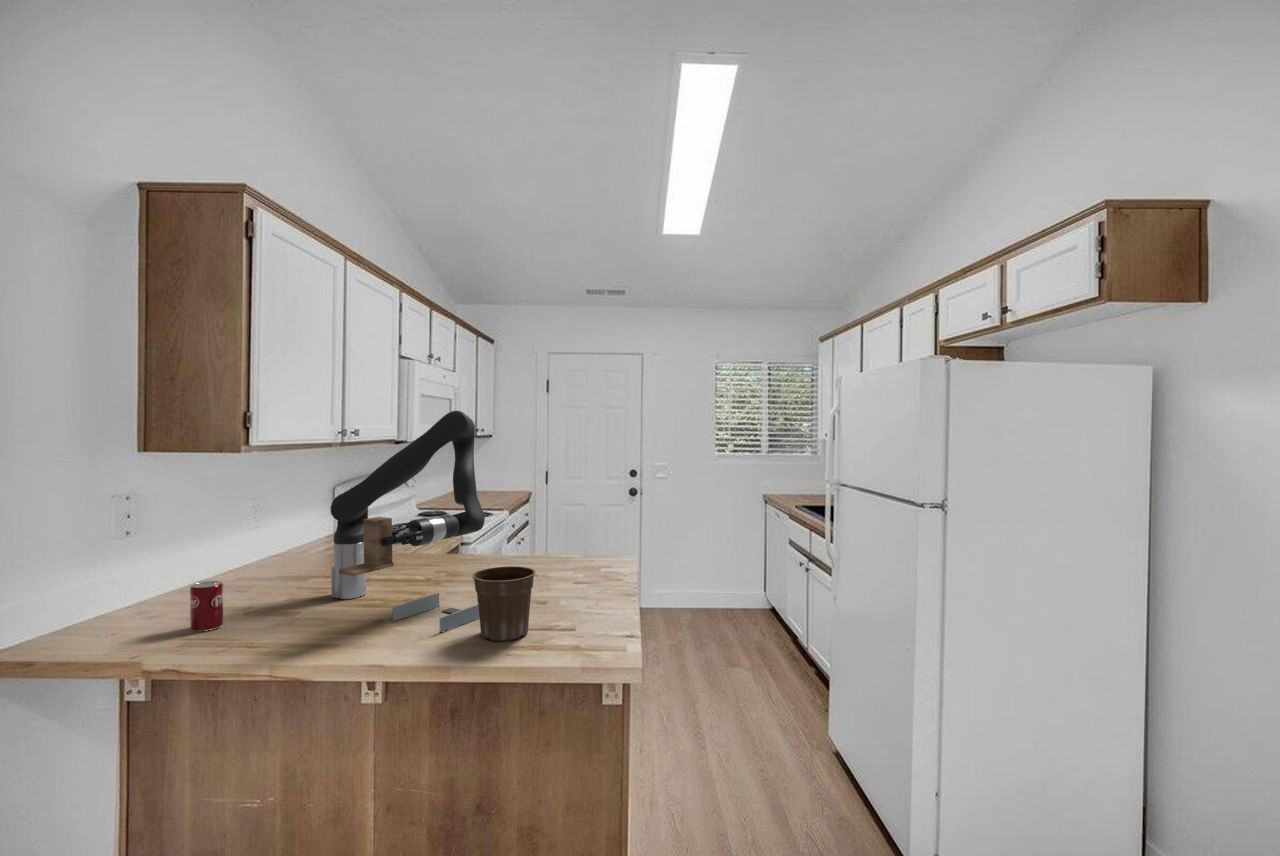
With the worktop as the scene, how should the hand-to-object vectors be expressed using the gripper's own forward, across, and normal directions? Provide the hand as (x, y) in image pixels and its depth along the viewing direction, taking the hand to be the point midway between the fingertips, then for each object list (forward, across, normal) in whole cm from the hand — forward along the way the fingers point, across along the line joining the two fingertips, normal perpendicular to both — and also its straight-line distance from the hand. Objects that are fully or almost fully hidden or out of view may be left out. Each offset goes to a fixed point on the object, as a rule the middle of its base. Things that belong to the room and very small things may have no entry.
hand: (375, 541), depth 165 cm
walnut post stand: (+3, 0, +7) cm, 8 cm away
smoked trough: (-14, +8, +24) cm, 29 cm away
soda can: (+22, -40, +24) cm, 52 cm away
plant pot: (-14, +32, +24) cm, 43 cm away
